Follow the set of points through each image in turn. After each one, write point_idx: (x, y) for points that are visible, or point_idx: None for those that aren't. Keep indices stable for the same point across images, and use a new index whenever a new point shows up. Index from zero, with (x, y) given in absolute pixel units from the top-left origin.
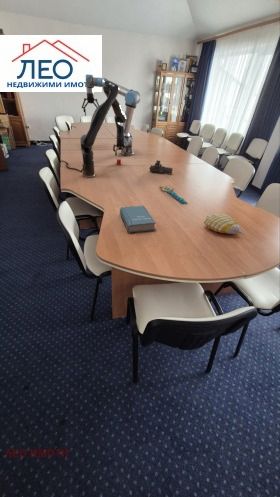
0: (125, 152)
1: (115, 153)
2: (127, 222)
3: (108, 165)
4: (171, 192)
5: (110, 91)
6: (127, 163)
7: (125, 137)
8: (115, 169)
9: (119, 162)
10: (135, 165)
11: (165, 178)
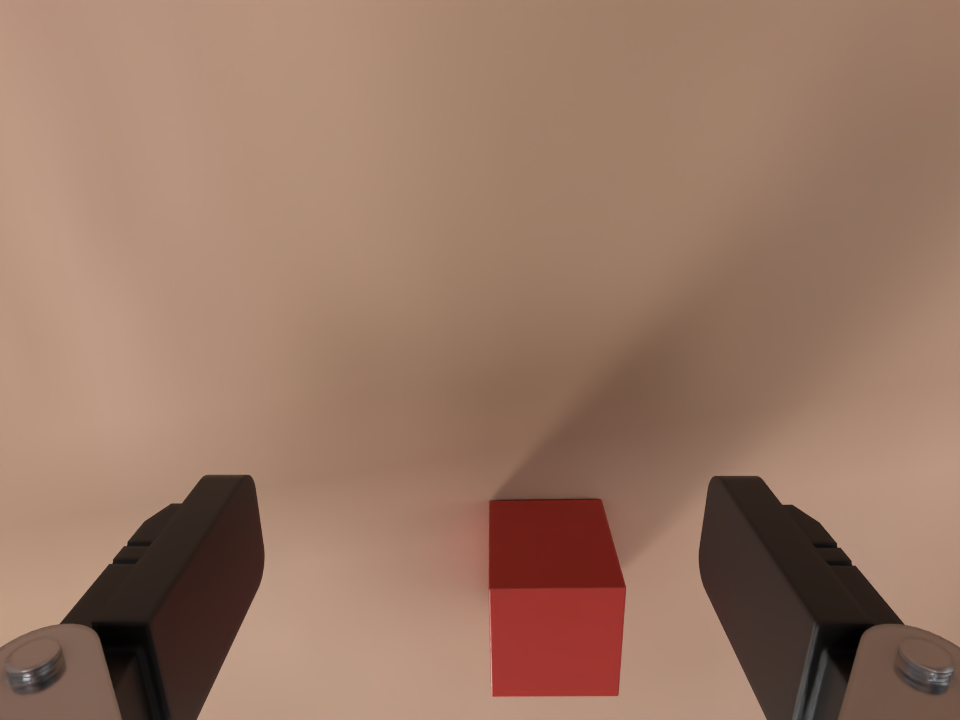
0: (54, 625)
1: (847, 577)
2: None
3: (853, 409)
4: None
5: None
6: (317, 649)
7: None
8: (652, 15)
9: (528, 543)
10: (78, 529)
11: None
